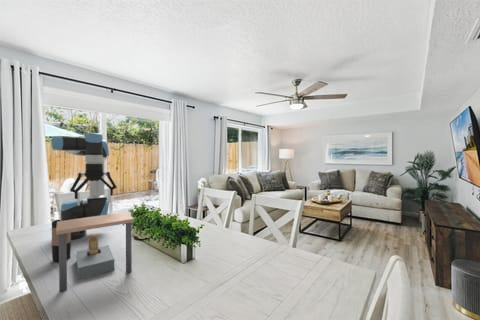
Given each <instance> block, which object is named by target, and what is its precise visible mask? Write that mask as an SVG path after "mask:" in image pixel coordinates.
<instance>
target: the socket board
mask: <svg viewBox="0 0 480 320" xmlns="http://www.w3.org/2000/svg"><path fill="white" fill-rule="evenodd" d="M75 255H76V256H75V257H76V270H77V271H76V272H77V279H78V280H81V279H83V278H84V279H85V278H89V277H92V276H96V275H101V274H102V273H103V274H104V273H108V272H110V271H114V270H115V257H114V255H113V253H112V250H111V248H110V246H109V244H108V245H101V246H98V254H94V255H90V256H89V248H87V249H84V250H83V249H82V250H78V251H76V254H75Z"/></svg>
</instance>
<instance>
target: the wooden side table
mask: <svg viewBox="0 0 480 320" xmlns="http://www.w3.org/2000/svg"><path fill="white" fill-rule="evenodd" d="M133 223H135V219H134V217H133V216H132V215H131V214H130V213H129V212H128V211H125V212H118V213H117V212H116V213H110V214H107V215H101V216H94V217H87V218H79V219H72V220H64V221H57V227H56V235H58V234H59V263H58V275H59V276H58V281H59V282H58V283H59V285H58V287H59V289H58V290H59V293H64V292H66V291H67V290H68V267H67V266H68V262H67V261H68V260H67V241H66V233H71V232H77V231H83V230H86V231H88V230H93V229H94V230H95V229H102V228H107V227H113V226H119V225H124V224H125V274H130V273H132V271H133V270H132V268H133V267H132V264H133V263H132V256H133V255H132V251H133V250H132V243H133V242H132V239H133V238H132V237H133V235H132V234H133V232H132V230H133V229H132V226H133V225H132V224H133Z"/></svg>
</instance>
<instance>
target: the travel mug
mask: <svg viewBox="0 0 480 320" xmlns="http://www.w3.org/2000/svg"><path fill="white" fill-rule="evenodd" d="M64 220H70V219H64ZM64 220H61V219H55V220H53V221H51V255H52V257H51V258H52V263H56V264H57V263H58V264H59V234H58V235H56V227H57V221H64ZM66 241H67V261H68V260H70V259H71V250H72V249H71V248H72V240H71V233H66Z"/></svg>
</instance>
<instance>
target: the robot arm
mask: <svg viewBox="0 0 480 320" xmlns="http://www.w3.org/2000/svg"><path fill="white" fill-rule="evenodd" d="M51 149H52V150H53V151H60V152H61V151H64V152H66V153H67V154H70V155H74V156H81V157H83V156H84V157H85V159H84V160H85V172H78V173H77V177H76V179H75V180H74V182H73V185H72V186H71V187H70V190H69V191H70V192H71V193H74V199H71V200H69V201H68V200H67V201H64V202H62V204H61V206H60V220H64V219H70V220H72V219H79V218H87V217H94V216H101V215H109V214H108V212H109V206H110V203H111V202H112V201H111V197H112V196H113V194H114V189H118V187H117V185H116V183H115V182H114V180H113V178H112V176H111V173H110V171H105V161H106V160H107V157H109V156H110V151H109V150H110V149H109V144H108V141H107V140H106V139H104V137H103V134H102V133H98V132H96V133H94V132H87V133H85V136H71V135H70V136H66V135H53V136H52V137H51ZM84 176H85V177H86V178H85V179H84V180H83V182H81V183H80V184H79V185H78V183H79V182H80V180H81V178H83V177H84ZM105 177H107V178H108V180H109V182H110V183H108V182H107V181H106V180H105ZM88 182H89V196H88V197H87V198H86V200H85V201H84V199H82V198H80V195H81V194H80V190H81V189H82V188H83V187H84V186H85V185H86V184H87V183H88ZM77 185H78V186H77ZM111 185H112V186H111ZM105 186H106V187H107V188H108V190H107V191H108V192H107V195H106V194H105ZM107 196H108V197H107ZM85 236H87V230H83V231H77V232H71V241H72V240H76V239H80V238H82V237H85Z"/></svg>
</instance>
